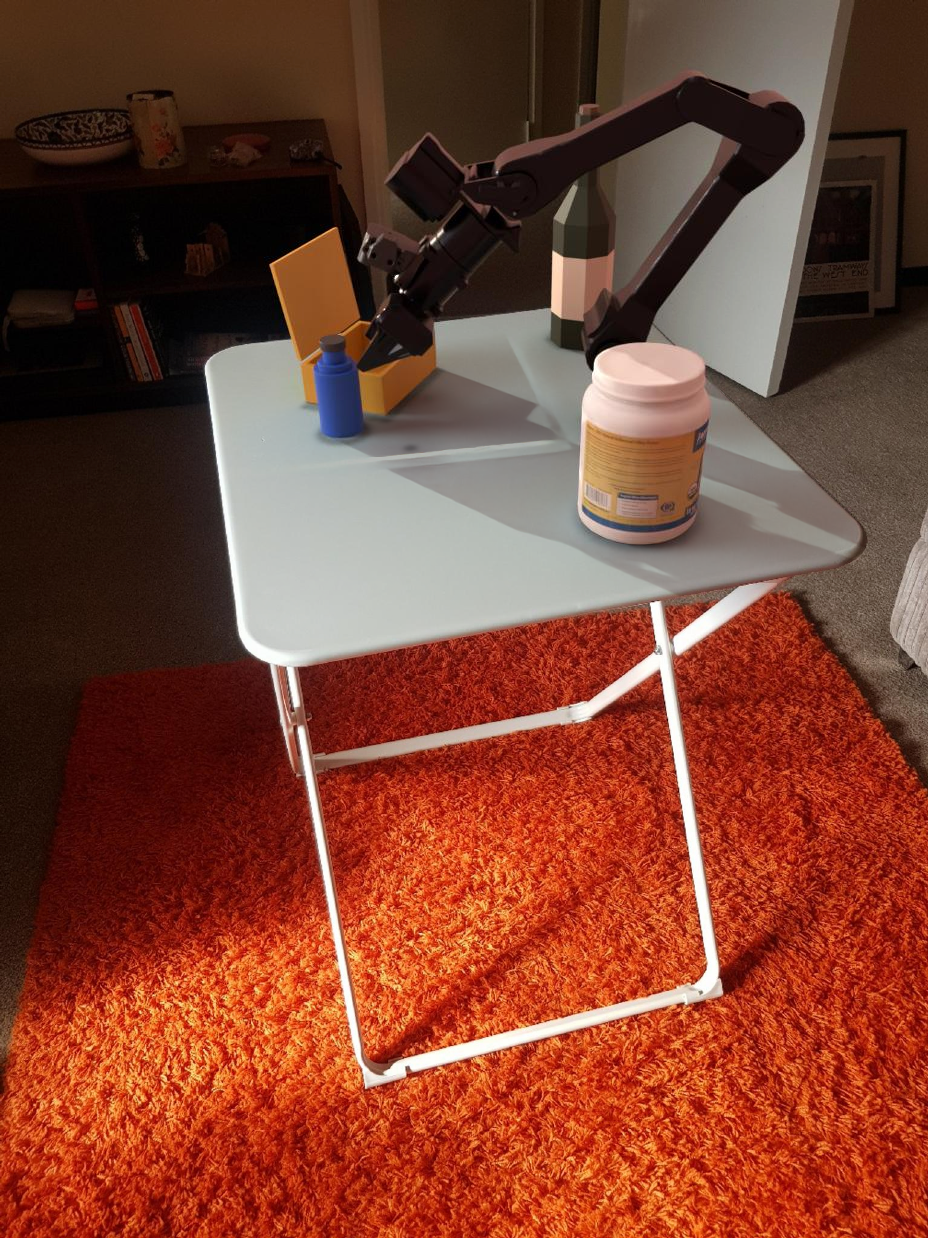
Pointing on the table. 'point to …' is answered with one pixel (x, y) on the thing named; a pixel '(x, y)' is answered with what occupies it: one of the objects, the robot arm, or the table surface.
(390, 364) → the box
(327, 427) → the bottle
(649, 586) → the table surface
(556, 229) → the wine bottle
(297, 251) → the lunchbox lid
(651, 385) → the supplement tub
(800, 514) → the table surface
